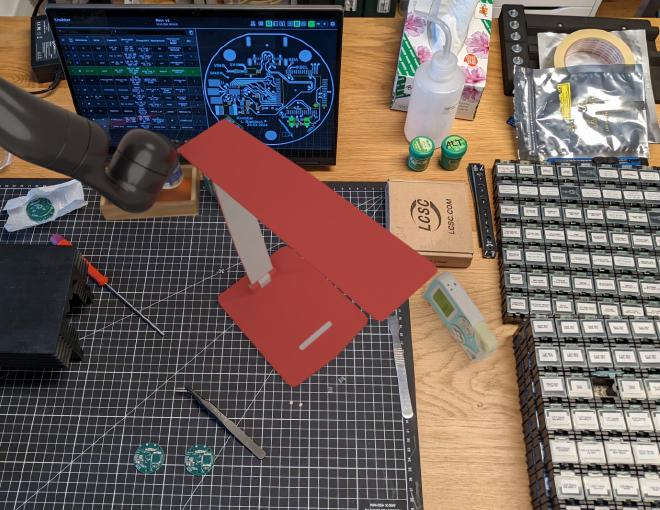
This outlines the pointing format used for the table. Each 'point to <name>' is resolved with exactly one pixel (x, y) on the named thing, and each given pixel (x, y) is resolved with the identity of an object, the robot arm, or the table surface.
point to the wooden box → (165, 200)
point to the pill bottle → (174, 178)
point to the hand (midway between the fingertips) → (160, 150)
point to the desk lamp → (300, 254)
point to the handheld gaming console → (461, 316)
